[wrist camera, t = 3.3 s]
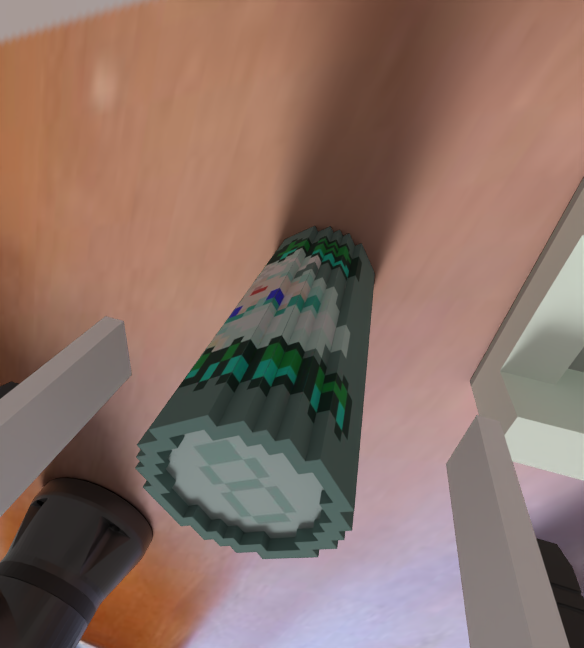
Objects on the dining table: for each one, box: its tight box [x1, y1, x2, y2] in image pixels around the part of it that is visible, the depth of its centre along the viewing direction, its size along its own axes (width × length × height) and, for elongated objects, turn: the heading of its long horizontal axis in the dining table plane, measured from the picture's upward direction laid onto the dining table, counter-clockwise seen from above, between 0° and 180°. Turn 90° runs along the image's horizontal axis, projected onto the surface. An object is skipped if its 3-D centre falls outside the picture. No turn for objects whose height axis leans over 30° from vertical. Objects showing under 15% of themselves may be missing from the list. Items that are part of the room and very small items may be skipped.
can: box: [136, 226, 375, 559], centre depth 16 cm, size 6×6×15 cm
